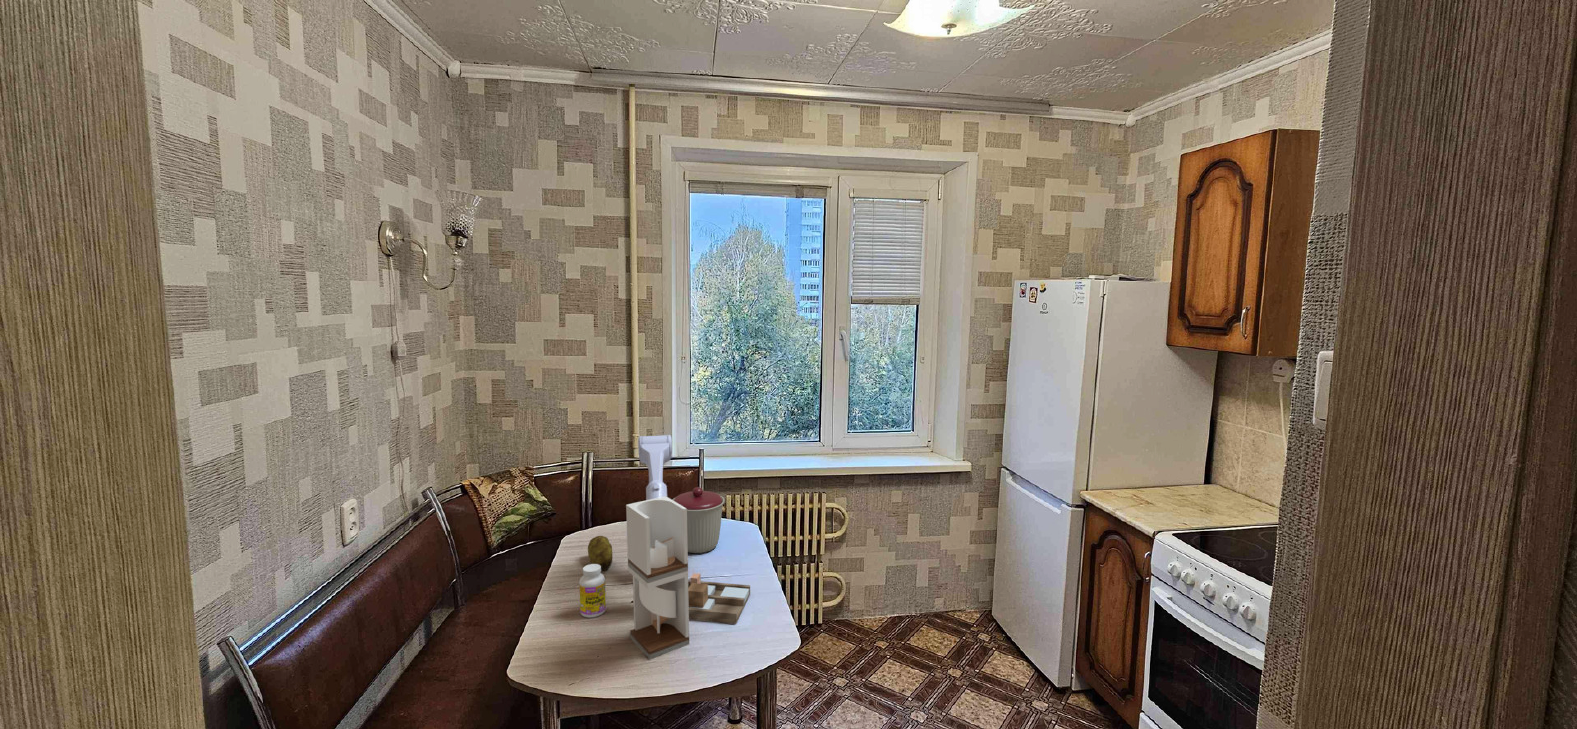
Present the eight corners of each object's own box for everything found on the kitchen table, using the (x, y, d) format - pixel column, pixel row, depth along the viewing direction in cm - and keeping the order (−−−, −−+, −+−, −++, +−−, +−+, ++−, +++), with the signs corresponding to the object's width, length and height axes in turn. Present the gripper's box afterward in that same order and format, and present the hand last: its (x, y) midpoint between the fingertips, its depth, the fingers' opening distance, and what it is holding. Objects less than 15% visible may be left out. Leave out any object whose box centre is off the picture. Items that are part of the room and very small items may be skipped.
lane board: (657, 616, 166) (656, 606, 166) (677, 588, 182) (677, 579, 181) (736, 624, 162) (736, 614, 162) (750, 594, 178) (750, 585, 178)
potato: (584, 574, 190) (583, 549, 189) (589, 556, 203) (588, 533, 202) (612, 572, 192) (611, 547, 191) (615, 554, 204) (615, 531, 203)
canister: (735, 544, 213) (735, 485, 211) (701, 563, 198) (700, 500, 195) (695, 533, 223) (695, 476, 220) (660, 550, 208) (659, 490, 205)
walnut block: (687, 606, 166) (686, 590, 166) (692, 598, 171) (692, 582, 170) (703, 608, 165) (702, 592, 165) (708, 599, 170) (707, 584, 169)
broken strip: (689, 598, 174) (689, 580, 173) (695, 589, 179) (695, 571, 178) (744, 603, 171) (744, 584, 170) (749, 593, 176) (748, 575, 176)
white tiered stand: (630, 638, 156) (626, 504, 151) (668, 624, 162) (665, 496, 158) (649, 659, 147) (645, 518, 142) (689, 644, 153) (686, 508, 149)
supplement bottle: (582, 621, 163) (580, 575, 162) (578, 609, 169) (576, 565, 168) (608, 615, 167) (606, 570, 165) (603, 604, 172) (601, 560, 171)
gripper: (627, 553, 165) (628, 601, 167) (678, 557, 163) (679, 606, 165) (637, 543, 172) (639, 589, 174) (687, 546, 170) (688, 593, 172)
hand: (659, 596), depth 170 cm, fingers open, 7 cm apart
